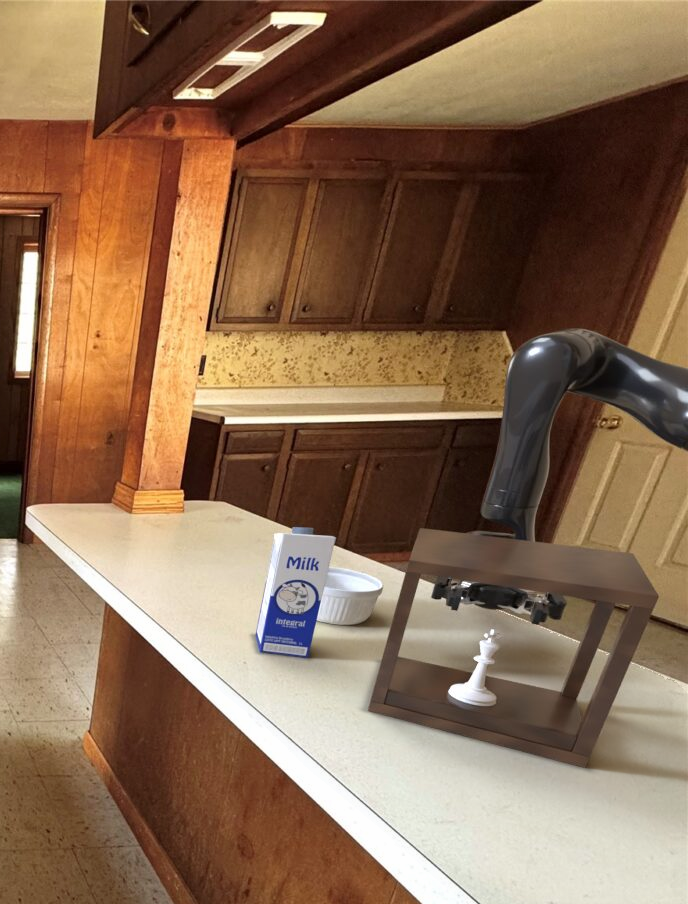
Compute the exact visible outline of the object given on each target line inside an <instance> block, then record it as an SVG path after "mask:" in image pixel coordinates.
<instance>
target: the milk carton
mask: <svg viewBox="0 0 688 904" xmlns="http://www.w3.org/2000/svg"><path fill="white" fill-rule="evenodd" d="M273 536H274V538H273V543H272V548H271V552H270V559H269V564H268V569H267V574H266V579H265V583H264V589H263V595H262V598H261V599H262V600H261V605H260V609H259V615H258V620H257V625H256V629H255V639H256V642H257V646H258V650H259V652H260V653H267V654H273V655H281V656H290V657H297V658H305V659H306V658H307V659H309V656H310V655H309V654H310V652H311V651H310V650H311V646H312V642H313V637H314V633H315V628H316V626H317V625H316V624H317V622H318V621H317V616H318V612H319V608H320V603H321V599H322V595H323V590H324V586H325V582H326V577H327V573H328V569H329V567H330V564H331V561H332V560H331V559H332V556H333V552H334V547H335V544H336V540H337V537H335V536H333V535H318V534H314V527H302V526H299V527H298V526H293V527H292V528H291V532H290V533H289V532H277V533H273Z"/></svg>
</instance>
